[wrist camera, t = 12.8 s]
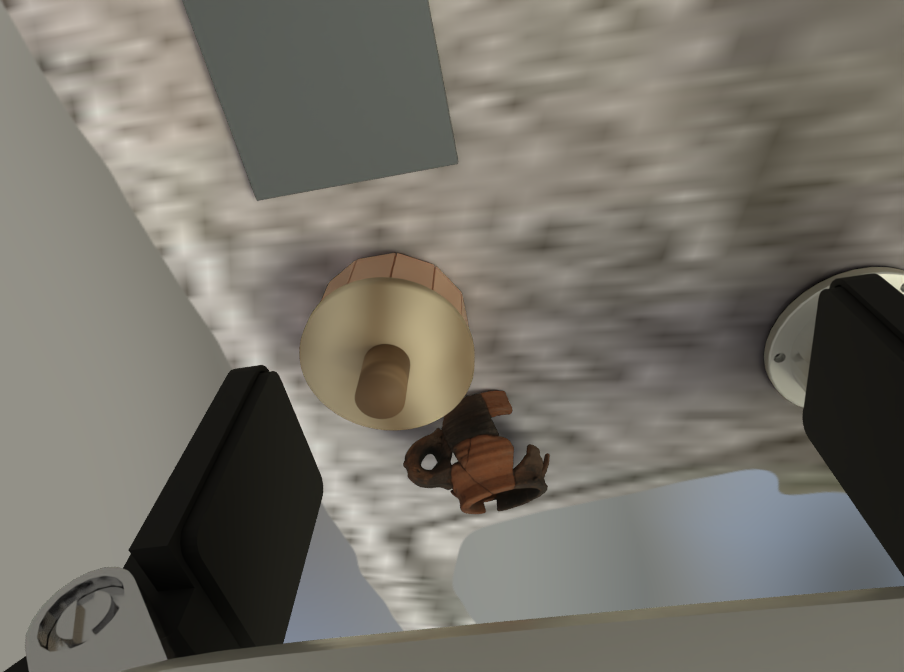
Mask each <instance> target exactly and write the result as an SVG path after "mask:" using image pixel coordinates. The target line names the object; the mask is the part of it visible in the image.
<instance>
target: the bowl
mask: <svg viewBox="0 0 904 672" xmlns="http://www.w3.org/2000/svg"><path fill="white" fill-rule="evenodd" d="M376 277H391V278H399V279H404V280H408V281H412V282H415V283H418V284H421V285H424V286H426V287H428V288H430V289H432V290H434V291H435V292H437V293H438V294H440V295H441V296H443V297H444V298H445V299H447V300H448V301H449V302H450V303H451V304H452V305H453V306H454V307H455V308H456V309H457V310H458V311H459V313H460V314H461V315H462V317H463V318H464V320H465V321H466V323H467V325H468V320H467V315H466V310H465V305H464V301H463V296H462V294H461V291H460V290H459V289H458V288H457V287H456V286H455V285H454V284H453V283H452V282H451V281H450V280H449V279H448V278H447V277H446V276H445V275H444V274H443V273H442V272H441V271H440V270H439V268H438V267H437V266H435V267H434V265H433V264H430V263H427V262H424V261H421V260H418V259H415V258H411V257H408V256H405V255H402V254H399V253H397V255H396V254H395V253H391V254H385V255H379V256H373V257H367V258H361V259H357V260H355V261H354V262H353V263H352V264H350V265H349V266H348V267H347V268H346V269H344V270H343V271H342V272H341V273H340V274H338V275H337V276H336V277H335V278H334V279H333V280H331V281H330V282H329V284H328V286H327V288H326V291H325V293H324V295H323V298H322V300H323V299H324V298H325V297H326V296H327V295H329V294H330V293H332V292H333V291H334V290H336V289H338V288H340V287H342V286H344V285H346V284H349V283H351V282H354V281H358V280H362V279H367V278H376ZM322 300H321V301H322ZM468 327H469V325H468Z"/></svg>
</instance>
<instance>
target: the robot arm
mask: <svg viewBox="0 0 904 672" xmlns="http://www.w3.org/2000/svg"><path fill="white" fill-rule="evenodd" d="M764 362H765V369H766V372H767V374H768V377H769V379H770V381H771V382H772V384H773V385H774V387H775V388H776V390H777V391H778V392H779V393H780V394H781V395H782V396H783V397H784V398H785V399H787V400H788V401H790V402H791V403H793V404H795V405H797V406H800V407H802V408H804V409H803V425H804V429H805V432H806V434H807V436H808V438H809V439H810V441H811V442H812V444H813V445H814V447H815V448H816V450H817V451H818V453H819V454H820V455H821V457H822V458H823V460H824V461H825V463H826V464H827V466H828V467H829V469H830V470H831V471H832V473H833V474H834V476H835V477H836V479H837V480H838V482H839V483H840V485H841V486H842V488H843V489H844V490H845V492H846V493H847V495H848V496H849V498H850V499H851V501H852V502H853V503H854V505H855V506H856V508H857V509H858V511H859V512H860V514H861V515H862V517H863V518H864V519H865V521H866V522H867V524H868V525H869V527H870V528H871V530H872V531H873V532H874V534H875V536H876V537H877V538H878V540H879V541H880V543H881V544H882V546H883V547H884V549H885V550H886V552H887V553H888V555H889V556H890V557H891V559H892V560H893V562H894V563H895V565H896V566H897V568H898V569H899V571H900V572H901V573H902V575H903V576H904V270H900V269H895V268H890V267H868V268H862V269H855V270H851V271H848V272H844V273H841V274H838V275H835V276H833V277H831V278H828V279H826V280H824V281H822V282H820V283H818V284H816V285H815V286H813V287H812V288H810V289H809V290H807V291H805V292H804V293H802V294H801V295H800V296H799V297H798V298H797V299H795V300H794V301H793V302H792V303H791V304H790V305H789V306H788V307H787V308H786V309H785V310H784V312H783V313H782V314H781V315H780V316H779V318H778V319H777V321H776V322H775V324H774V326H773V327H772V329H771V331H770V334H769V336H768V339H767V341H766V345H765V352H764ZM322 496H323V481H322V477H321V474H320V472H319V469H318V467H317V465H316V462H315V460H314V458H313V455H312V453H311V450H310V448H309V446H308V443H307V441H306V438H305V436H304V434H303V431H302V429H301V426H300V424H299V422H298V419H297V417H296V414H295V412H294V410H293V407H292V405H291V402H290V400H289V398H288V395H287V393H286V391H285V388H284V386H283V383H282V381H281V379H280V377H279V375H278V374H277V372H275V371H271V372H269V370H268V369H267V368H266V367H265V366H263V365H258V366H251V367H245V368H238V369H233V370H231V371H230V372H229V373H228V375H227V377H226V378H225V380H224V382H223V384H222V385H221V387H220V389H219V391H218V392H217V394H216V396H215V398H214V400H213V401H212V403H211V405H210V407H209V408H208V410H207V412H206V414H205V415H204V417H203V419H202V421H201V423H200V425H199V426H198V428H197V430H196V432H195V433H194V435H193V437H192V439H191V441H190V442H189V444H188V446H187V447H186V449H185V451H184V453H183V454H182V456H181V458H180V460H179V462H178V463H177V465H176V467H175V469H174V470H173V472H172V474H171V476H170V477H169V479H168V481H167V483H166V485H165V486H164V488H163V490H162V492H161V493H160V495H159V497H158V499H157V501H156V502H155V504H154V506H153V508H152V509H151V511H150V513H149V515H148V516H147V518H146V520H145V522H144V524H143V525H142V527H141V529H140V531H139V532H138V534H137V536H136V538H135V539H134V541H133V543H132V545H131V547H130V548H129V551H130V553H131V555H130V557H129V558H128V560H127V562H126V564H125V566H124V567H123V569H122V568H119V567H105V568H101V569H98V570H94V571H91V572H88V573H86V574H84V575H82V576H80V577H78V578H76V579H74V580H72V581H71V582H70V583H68V584H67V585H65V586H64V587H63V588H61V589H60V590H58V591H57V592H56V593H55V594H54V595H53V596H52V597H51V598H50V599H49V600H48V601H47V602H46V603H45V604H44V605H43V606H42V607H41V609H40V610H39V611H38V613H37V614H36V616H35V617H34V618H33V620H32V622H31V624H30V626H29V629H28V631H27V633H26V640H25V651H26V656H25V657H24V658H22V659H21V660H20V661H18V662H17V663H15V664H14V665H12V666H11V667H10V668H8V669H7V670H5V671H4V672H904V586H900V587H885V588H872V589H861V590H849V591H838V592H828V593H815V594H803V595H792V596H780V597H769V598H757V599H747V600H735V601H724V602H712V603H700V604H689V605H678V606H667V607H656V608H646V609H635V610H623V611H612V612H602V613H590V614H580V615H569V616H558V617H548V618H538V619H526V620H516V621H504V622H494V623H483V624H473V625H462V626H452V627H442V628H432V629H422V630H411V631H401V632H391V633H381V634H371V635H360V636H350V637H340V638H330V639H320V640H311V641H302V642H293V643H285V644H283V642H284V639H285V634H286V631H287V627H288V624H289V620H290V616H291V612H292V608H293V605H294V601H295V597H296V594H297V590H298V586H299V583H300V579H301V575H302V571H303V568H304V564H305V559H306V556H307V553H308V549H309V545H310V541H311V538H312V534H313V530H314V526H315V523H316V519H317V515H318V511H319V508H320V504H321V500H322Z"/></svg>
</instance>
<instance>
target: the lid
mask: <svg viewBox="0 0 904 672" xmlns="http://www.w3.org/2000/svg"><path fill="white" fill-rule="evenodd" d="M300 363H301V368H302V371H303V375H304V377H305V379H306V381H307V383H308V385H309V387H310V388H311V390H312V391H313V393H314V394H315V395H316V396H317V398H318V399H319V400H320V401H321V402H322V403H323V404H324V405H325V406H327V407H328V408H329V409H330V410H332V411H333V412H334V413H336V414H337V415H339V416H341V417H343V418H344V419H346V420H349V421H351V422H353V423H356V424H359V425H362V426H365V427H369V428H374V429H381V430H406V429H412V428H417V427H421V426H424V425H427V424H430V423H432V422H434V421H437V420H438V419H440V418H442V417H443V416H445V415H446V414H448V413H449V412H450V411H452V410H453V409H454V408H455V407H456V406H457V405H458V404H459V403H460V402H461V400H462V399H463V398H464V396H465V395H466V393H467V391H468V389H469V387H470V384H471V382H472V379H473V374H474V344H473V339H472V335H471V332H470V330H469V327H468V325H467V323H466V321H465V320H464V318H463V317H462V315H461V314H460V313H459V311H458V310H457V309H456V308H455V307H454V306H453V305H452V304H451V303H450V302H449V301H448V300H447V299H445V298H444V297H443V296H441V295H440V294H438V293H437V292H435V291H434V290H432V289H430V288H428V287H426V286H424V285H421V284H418V283H415V282H412V281H408V280H404V279H399V278H391V277H376V278H367V279H362V280H358V281H354V282H351V283H349V284H346V285H344V286H342V287H340V288H338V289H336V290H334V291H333V292H332V293H330V294H329V295H327V296H326V297H325V298H324V299H323V300H322V301H321V302H320V303H319V304H318V305H317V307H316V308H315V309H314V311H313V312H312V314H311V316H310V318H309V320H308V322H307V324H306V326H305V329H304V331H303V334H302V337H301V342H300Z"/></svg>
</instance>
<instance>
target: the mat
mask: <svg viewBox="0 0 904 672" xmlns="http://www.w3.org/2000/svg"><path fill="white" fill-rule="evenodd" d="M182 1H183V4H184V6H185V9H186V12H187V14H188V17H189V20H190V22H191V25H192V28H193V31H194V33H195V36H196V39H197V41H198V44H199V47H200V49H201V52H202V55H203V57H204V60H205V63H206V65H207V68H208V71H209V73H210V76H211V79H212V82H213V84H214V87H215V90H216V92H217V95H218V98H219V100H220V103H221V106H222V108H223V111H224V114H225V116H226V119H227V122H228V124H229V127H230V130H231V133H232V135H233V138H234V141H235V143H236V146H237V149H238V151H239V154H240V157H241V159H242V162H243V165H244V167H245V170H246V173H247V176H248V178H249V181H250V184H251V186H252V189H253V192H254V194H255V197H256V200H257V201H259V200H264V199H269V198H275V197H280V196H286V195H291V194H297V193H302V192H308V191H313V190H318V189H324V188H329V187H335V186H340V185H346V184H351V183H356V182H362V181H367V180H373V179H378V178H384V177H389V176H394V175H400V174H405V173H411V172H416V171H422V170H427V169H433V168H438V167H443V166H449V165H454V164H458V157H457V152H456V147H455V141H454V136H453V131H452V125H451V120H450V115H449V109H448V104H447V99H446V93H445V88H444V83H443V77H442V72H441V67H440V61H439V56H438V51H437V45H436V40H435V35H434V29H433V24H432V19H431V13H430V8H429V3H428V0H182Z"/></svg>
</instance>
